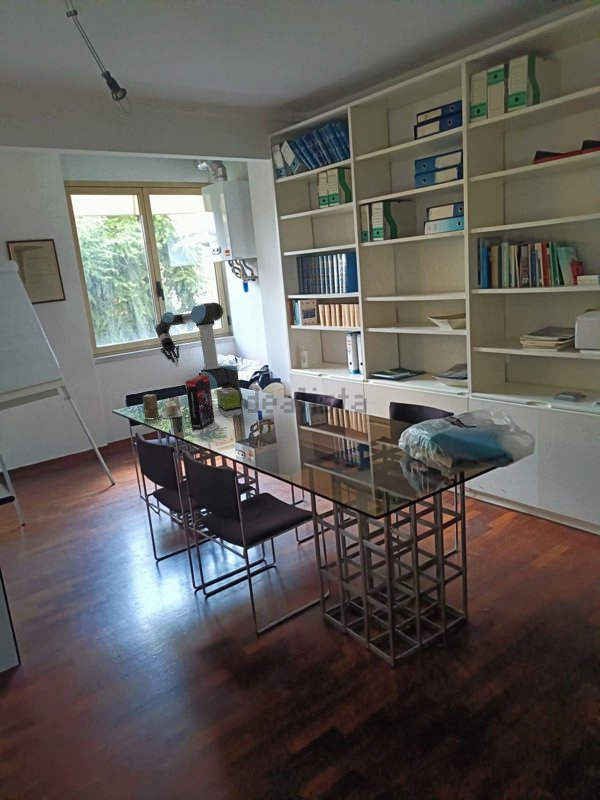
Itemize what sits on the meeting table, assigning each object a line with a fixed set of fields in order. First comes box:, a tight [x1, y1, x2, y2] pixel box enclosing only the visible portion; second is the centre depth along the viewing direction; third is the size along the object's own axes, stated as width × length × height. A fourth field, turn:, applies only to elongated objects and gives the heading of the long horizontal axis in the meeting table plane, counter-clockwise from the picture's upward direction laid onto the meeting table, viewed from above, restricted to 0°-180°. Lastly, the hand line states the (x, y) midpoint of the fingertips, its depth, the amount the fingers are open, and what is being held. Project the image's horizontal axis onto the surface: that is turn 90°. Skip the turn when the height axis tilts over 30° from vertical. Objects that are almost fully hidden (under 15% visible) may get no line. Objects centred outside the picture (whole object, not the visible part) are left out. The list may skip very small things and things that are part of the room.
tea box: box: [215, 387, 242, 418], centre depth 349 cm, size 15×10×15 cm, turn 25°
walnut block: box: [142, 393, 160, 419], centre depth 352 cm, size 6×6×14 cm
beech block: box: [164, 400, 178, 417], centre depth 360 cm, size 6×6×16 cm
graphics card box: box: [185, 374, 216, 430], centre depth 325 cm, size 17×7×27 cm, turn 163°
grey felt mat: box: [160, 409, 184, 419], centre depth 359 cm, size 12×18×1 cm, turn 18°
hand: (177, 365), depth 382 cm, fingers closed
